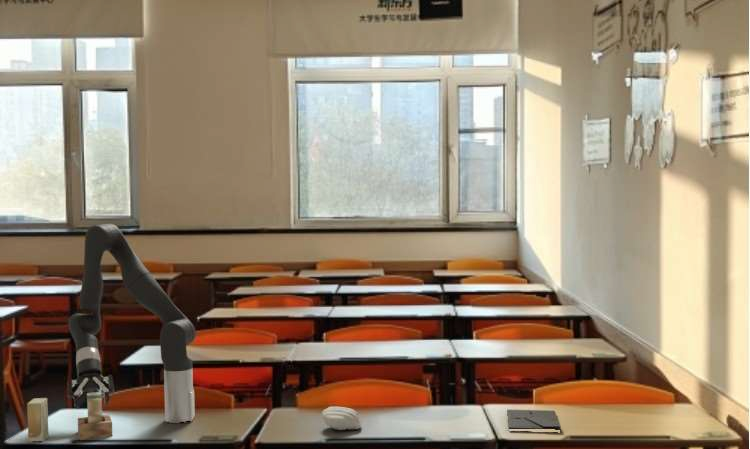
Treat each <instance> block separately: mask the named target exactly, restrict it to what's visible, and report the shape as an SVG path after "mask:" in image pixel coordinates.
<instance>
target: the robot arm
mask: <svg viewBox="0 0 750 449" xmlns="http://www.w3.org/2000/svg"><path fill="white" fill-rule="evenodd" d="M105 252H109V253H110V255H111V256H112V257H113V258H114V260H115V261H116V263H117V264H118V266H119V270H120V274H121V278H122V284H123V285H124V287H125V289H126V290H127V291H128V292H129V294H130V295H131V296H132V298H133V299H134V300H135V301H136V303H138V304H139V305H141V306H142V307H143V308H145V309H147V311H149V312H150V313H153V314H154V315H155V316H156V317H157V318H158V319H159V320H160V321H161V322H162V324H163V326H162V327H161V330H160V334H159V343H160V344H159V345H160V357H161V358H160V359H161V361H162V364H163V378H164V380H163V381H164V382H163V384H164V387H163V388H164V420H165V423H168V422H169V423H168V424H181V423H180V422H184V423H187V422H186V421H190V422H193V421H192V420H194V419H195V417H196V414H195V412H196V411H195V410H196V408H195V406H196V405H195V389H194V385H193V383H194V380H193V379H194V378H193V377H194V376H193V374H194V372H193V359H191V358H190V357H188V352H187V346H188V345H191V344H192V343H193V342H194V341H195V340H196V336H197V332H196V329H195V326H194V324H193V323H192V322H191V320H190V319H189V318H188V317H187V316H186V315H185V314H184V313H183V312H182V310H180V309H179V308H178V306H176V305H175V304H174V302H173V301H172V300H171V298H170V297H169V296H168V295H167V292H165V291H164V290H163V288H162V286H160V284H159V283H158V281H157V280H156V278H155V277H154V276H153V275H152V273H151V272H150V271H149V270H148V269H147V267H146V266H145V265H144V263H143V262H142V261H141V260H140V258H139V257H138V255H137V254H136V253H135V252H134V250H133V248H132V246H130V243H129V242H128V241H127V239H126V237H125V235H124V234H123V232H122V231H121V230H120V228H119V227H118V226H117V225H115V224H113V223H100V224H95V225H92V226H90V227H89V228H88V229H87V230H86V233H85V238H84V254H83V255H84V258H83V259H84V261H83V276H82V284H81V289H80V294H79V300H78V305H79V307H80V308H82V309H84V310H87V311H90V312H91V313H77V312H76V313H74V314H72V315H71V316H69V319H68V328H69V329H68V330H69V332H70V334H71V336H72V338H73V342H74V343H75V353H76V355H75V356H76V357H75V361H76V363H75V364H76V365H75V366H76V374H77V375H76V376H77V378H76V379H72V378H71V377H70V378H67V398H68V399H73V404H74V405H73V406H74V408H76V409H78V410H79V409H80V396H81V395H82V394H84V393H83V392H87V393H90V392H101V394H102V395H103V400H104V401H103V402H104V406H105V407H107V406H108V404H110V395H112V394H114V393H115V384H114V379H113V375H112V374H108V375H107V376H103V374H102V364H101V363H102V362H101V355H100V352H99V343H98V338H97V337H96V336H95V335H97V334H98V333H99V332H100V331H101V328H102V320H101V319H102V318H101V302H102V297H103V291H104V279H103V274H102V272H101V270H102V269H101V263H102V258H103V256H104V253H105ZM104 382H105V383H106V384H107V385H108V388H107V387H106V386H105V384H104ZM76 385H77V386H78V387H77V389H76V390H75V391H74V392H73V388H74V387H75V386H76ZM194 416H195V417H194ZM193 418H194V419H193Z"/></svg>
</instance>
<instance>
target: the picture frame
mask: <svg viewBox="0 0 750 449" xmlns="http://www.w3.org/2000/svg"><path fill="white" fill-rule="evenodd" d="M506 416H508V419H507V429H508V428H509V429H555V430H560V431H561V424H560V421H559V419H558V416H557V413H556V411H555V410H548V409H547V410H543V409H541V410H540V409H539V410H537V409H534V410H533V409H506Z"/></svg>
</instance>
